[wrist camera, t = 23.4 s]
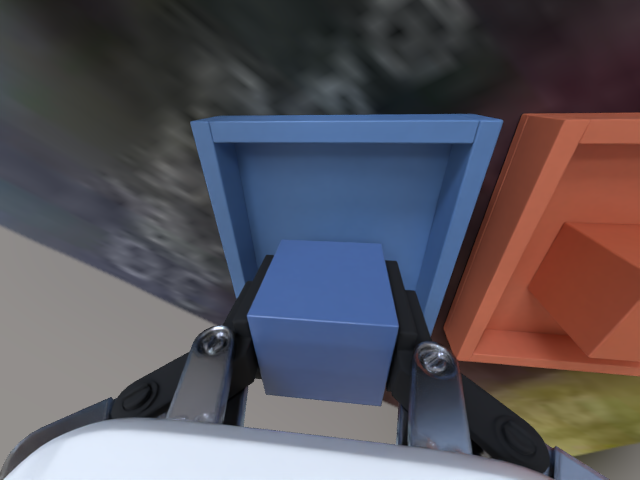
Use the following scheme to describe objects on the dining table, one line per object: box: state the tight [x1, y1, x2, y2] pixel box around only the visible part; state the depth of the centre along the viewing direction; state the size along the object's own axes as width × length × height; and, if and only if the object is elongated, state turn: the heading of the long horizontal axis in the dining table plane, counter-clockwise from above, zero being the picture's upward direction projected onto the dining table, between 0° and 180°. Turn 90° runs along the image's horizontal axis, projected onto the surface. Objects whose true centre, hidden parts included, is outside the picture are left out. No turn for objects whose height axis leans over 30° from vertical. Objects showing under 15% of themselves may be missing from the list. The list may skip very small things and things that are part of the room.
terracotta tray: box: [443, 113, 640, 376], centre depth 12 cm, size 12×14×2 cm
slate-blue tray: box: [190, 114, 503, 337], centre depth 14 cm, size 12×14×2 cm
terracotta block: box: [527, 222, 640, 362], centre depth 11 cm, size 4×4×4 cm
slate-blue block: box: [247, 240, 399, 406], centre depth 10 cm, size 4×4×4 cm
